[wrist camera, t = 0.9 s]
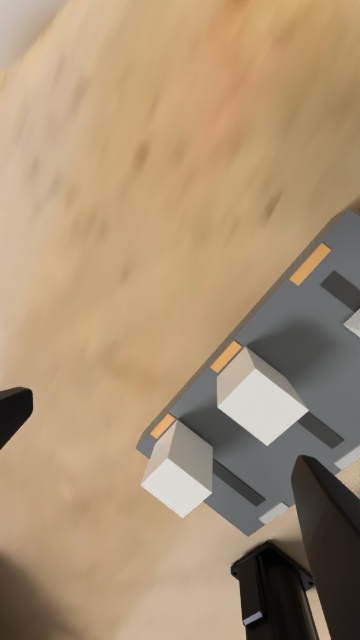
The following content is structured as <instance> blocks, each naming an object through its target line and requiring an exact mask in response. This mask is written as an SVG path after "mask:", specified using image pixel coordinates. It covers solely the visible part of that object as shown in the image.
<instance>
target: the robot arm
mask: <svg viewBox="0 0 360 640" xmlns="http://www.w3.org/2000/svg"><path fill="white" fill-rule="evenodd" d="M32 412H33V393H32V390H31V389H28V388H24V387H16V388H12V389H8V390H4V391H0V450H1V449H2V448H3V446H4V445H5V444H6V443H7V442H8V441H9V440H10V438H11V437H12V436H13V435H14V434H15V433H16V432H17V431H18V429H19V428H20V427H21V426H22V425H23V424H24V423H25V421H26V420H27V419H28V418H29V417H30V416H31V414H32ZM291 486H292V490H293V495H294V500H295V505H296V509H297V514H298V519H299V524H300V528H301V533H302V538H303V542H304V547H305V551H306V555H307V558H308V562H309V566H310V569H311V573H312V575H311V574H310V573H308V572H307V571H306V570H305V569H303V568H302V567H301V566H299V565H298V564H297V563H296V562H294V561H293V560H292V559H291V558H289V557H288V556H287V555H285V554H284V553H283V552H282V551H280V550H279V549H278V548H276V547H275V546H274V545H273V544H271V543H265V544H264V545H262V546H261V547H259V548H258V549H256V550H255V551H253V552H252V553H250V554H249V555H247V556H246V557H244V558H243V559H241V560H240V561H238V562H237V563H235V564H234V565H233V566H231V575H232V576H234V577H235V578H236V579H237V580H239V584H240V597H241V609H242V621H243V625H244V626H245V628H246V640H319V636H318V633H317V629H316V626H315V622H314V619H313V616H312V612H311V609H310V605H309V602H308V598H307V595H306V591H307V590H309V589H311V588H313V587H314V586H316V590H317V593H318V596H319V600H320V603H321V606H322V610H323V613H324V617H325V620H326V623H327V627H328V630H329V634H330V637H331V640H360V499H359V498H358V497H357V496H356V495H355V494H354V493H352V492H351V491H350V490H349V489H348V488H347V487H346V486H345V485H344V484H343V483H342V482H341V481H340V480H339V479H337V478H336V477H335V476H334V475H333V474H332V473H331V472H330V471H329V470H328V469H327V468H326V467H325V466H324V465H322V464H321V463H320V462H319V461H318V460H317V459H316V458H314V457H311V456H307V455H303V454H300V455H298V457H297V459H296V462H295V465H294V468H293V471H292V474H291Z"/></svg>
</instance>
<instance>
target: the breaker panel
mask: <svg viewBox="0 0 360 640" xmlns="http://www.w3.org/2000/svg"><path fill="white" fill-rule="evenodd" d="M359 309H360V216H359V215H357V214H356V213H355V212H353V211H352V210H351V209H349V210H347V211H345V212H343V213H341V214H339V215H337V216H335V217H333V218H332V219H331V220H330V221H329V222H328V224H327V225H326V226H325V227H324V228H323V229H322V230H321V231H320V233H319V234H318V235H317V236H316V237H315V238H314V239H313V241H312V242H311V243H310V244H309V245H308V246H307V247H306V249H305V250H304V251H303V252H302V253H301V254H300V255H299V256H298V258H297V259H296V260H295V261H294V262H293V263H292V264H291V266H290V267H289V268H288V269H287V270H286V271H285V272H284V273H283V275H282V276H281V277H280V278H279V279H278V280H277V281H276V283H275V284H274V285H273V286H272V287H271V288H270V289H269V290H268V292H267V293H266V294H265V295H264V296H263V297H262V298H261V300H260V301H259V302H258V303H257V304H256V305H255V306H254V307H253V309H252V310H251V311H250V312H249V313H248V314H247V315H246V317H245V318H244V319H243V320H242V321H241V322H240V323H239V324H238V326H237V327H236V328H235V329H234V330H233V331H232V332H231V334H230V335H229V336H228V337H227V338H226V339H225V340H224V341H223V343H222V344H221V345H220V346H219V347H218V348H217V349H216V351H215V352H214V353H213V354H212V355H211V356H210V357H209V358H208V360H207V361H206V362H205V363H204V364H203V365H202V366H201V368H200V369H199V370H198V371H197V372H196V373H195V374H194V375H193V377H192V378H191V379H190V380H189V381H188V382H187V383H186V385H185V386H184V387H183V388H182V389H181V390H180V391H179V392H178V394H177V395H176V396H175V397H174V398H173V399H172V400H171V402H170V403H169V404H168V405H167V406H166V407H165V408H164V409H163V411H162V412H161V413H160V414H159V415H158V416H157V417H156V419H155V420H154V421H153V422H152V423H151V424H150V425H149V426H148V428H147V429H146V430H145V431H144V432H143V433H142V436H141V438H140V440H139V442H138V444H137V446H136V449H137V450H138V451H140V452H141V453H142V454H143V455H145V456H146V457H147V458H149V459H150V457H151V454H152V452H153V449H154V446H155V443H156V442H157V441H158V440H159V439H160V438H161V437H162V436H163V435H164V434H165V432H166V431H167V430H168V429H169V428H170V427H171V426H172V425H173V424H174V423H175V422H176V421H177V420H179V421H180V422H181V423H183V424H184V425H185V426H186V427H188V428H189V429H190V430H191V431H193V432H194V433H195V434H197V435H198V436H199V437H200V438H202V439H203V440H204V441H206V442H207V443H208V444H209V445H211V446H212V447H213V470H212V494H210V495H209V496H208V497H207V498H206V499H205V500H203V502H205V503H206V504H207V505H208V506H210V507H211V508H212V509H214V510H215V511H216V512H217V513H219V514H220V515H221V516H222V517H224V518H225V519H226V520H228V521H229V522H230V523H231V524H233V525H234V526H235V527H236V528H238V529H239V530H240V531H242V532H243V533H244V534H245V535H247V536H248V537H249V536H250V535H251V534H253V533H254V532H256V531H257V530H258V529H260V528H261V527H263V526H264V525H265V524H267V523H268V522H270V521H271V520H273V519H274V518H275V517H277V516H278V515H280V514H281V513H283V512H284V511H285V510H287V509H288V508H289V507H291V506H292V505H294V504H295V500H294V495H293V490H292V486H291V474H292V471H293V468H294V465H295V462H296V459H297V457H298V455H300V454H303V455H307V456H311V457H314V458H316V459H317V460H318V461H319V462H320V463H321V464H322V465H324V466H325V467H326V468H327V469H328V470H329V471H330V472H331V473H332V474H333V475H336V474H337V473H339V472H340V471H341V470H343V469H344V468H346V467H347V466H349V465H350V464H351V463H353V462H354V461H356V460H357V459H358V458H360V337H359V336H357V335H356V334H355V333H353V332H352V331H351V330H349V329H348V328H347V327H346V326H344V325H343V324H344V323H345V322H346V321H347V320H348V319H349V318H350V317H351V316H352V315H353V314H354V313H356V312H357V311H358V310H359ZM245 346H246V347H247V348H248V349H250V350H251V351H252V352H254V353H255V354H256V355H257V356H259V357H260V358H261V359H263V360H264V361H265V362H266V363H268V364H269V365H270V366H272V367H273V368H274V369H275V370H277V371H278V372H279V373H281V374H282V375H283V376H284V377H286V378H287V380H288V381H289V383H290V384H291V385H292V387H293V388H294V390H295V391H296V393H297V394H298V395H299V397H300V398H301V400H302V401H303V402H304V404H305V405H306V407H307V408H308V410H309V411H308V412H307V413H305V414H304V415H303V416H302V417H301V418H300V419H298V420H297V421H296V422H295V423H294V424H293V425H291V426H290V427H289V428H288V429H287V430H285V431H284V432H283V433H282V434H281V435H280V436H278V437H277V438H276V439H275V440H274V441H273V442H271V443H270V444H269V445H268V446H266V445H265V444H264V443H263V442H261V441H260V440H259V439H258V438H256V437H255V436H254V435H252V434H251V433H250V432H249V431H247V430H246V429H245V428H243V427H242V426H241V425H240V424H238V423H237V422H236V421H234V420H233V419H232V418H231V417H229V416H228V415H227V414H226V413H224V412H223V411H222V410H220V409H219V408H218V407H217V376H218V375H219V374H220V373H221V372H222V371H223V370H224V369H225V368H226V367H227V366H228V365H229V364H230V362H231V361H232V360H233V359H234V358H235V357H236V356H237V355H238V354H239V353H240V352H241V351H242V350H243V348H244V347H245Z"/></svg>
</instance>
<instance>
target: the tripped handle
mask: <svg viewBox="0 0 360 640" xmlns="http://www.w3.org/2000/svg"><path fill="white" fill-rule="evenodd" d="M343 325H344V326H346V327H347V328H348V329H349V330H351V331H352V332H353V333H355V334H356V335H357V336H359V337H360V309H359V310H358V311H357V312H356V313H354V314H353V315H352V316H351V317H350V318H349V319H348V320H347V321H346V322H345V323H344V324H343Z"/></svg>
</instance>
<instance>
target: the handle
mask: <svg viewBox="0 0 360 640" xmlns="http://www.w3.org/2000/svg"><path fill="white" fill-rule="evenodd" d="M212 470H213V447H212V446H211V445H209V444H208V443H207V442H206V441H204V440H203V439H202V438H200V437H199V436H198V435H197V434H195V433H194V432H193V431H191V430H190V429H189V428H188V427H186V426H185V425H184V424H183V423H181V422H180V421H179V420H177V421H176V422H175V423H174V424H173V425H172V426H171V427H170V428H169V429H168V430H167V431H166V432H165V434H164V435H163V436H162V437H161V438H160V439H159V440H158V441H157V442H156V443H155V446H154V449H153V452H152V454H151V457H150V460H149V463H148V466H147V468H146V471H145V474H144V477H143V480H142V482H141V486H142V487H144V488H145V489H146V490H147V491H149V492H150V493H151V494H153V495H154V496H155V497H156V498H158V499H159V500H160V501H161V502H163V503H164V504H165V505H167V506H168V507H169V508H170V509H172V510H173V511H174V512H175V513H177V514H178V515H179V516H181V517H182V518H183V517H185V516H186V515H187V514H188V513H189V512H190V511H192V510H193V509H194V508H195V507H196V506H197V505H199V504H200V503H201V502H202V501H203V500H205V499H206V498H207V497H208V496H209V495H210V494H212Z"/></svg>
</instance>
